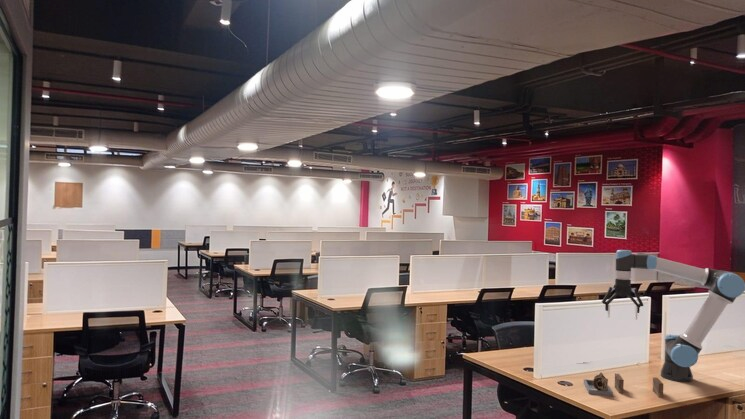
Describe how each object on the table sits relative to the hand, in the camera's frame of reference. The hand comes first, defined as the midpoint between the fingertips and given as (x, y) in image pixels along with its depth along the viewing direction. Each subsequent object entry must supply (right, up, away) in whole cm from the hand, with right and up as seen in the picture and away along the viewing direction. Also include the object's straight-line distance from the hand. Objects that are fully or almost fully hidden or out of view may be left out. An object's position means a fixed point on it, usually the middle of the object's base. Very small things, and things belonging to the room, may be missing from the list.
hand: (621, 318), depth 277 cm
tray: (-23, -31, -23) cm, 45 cm away
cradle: (-4, -31, -25) cm, 40 cm away
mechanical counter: (-24, -30, -23) cm, 45 cm away
